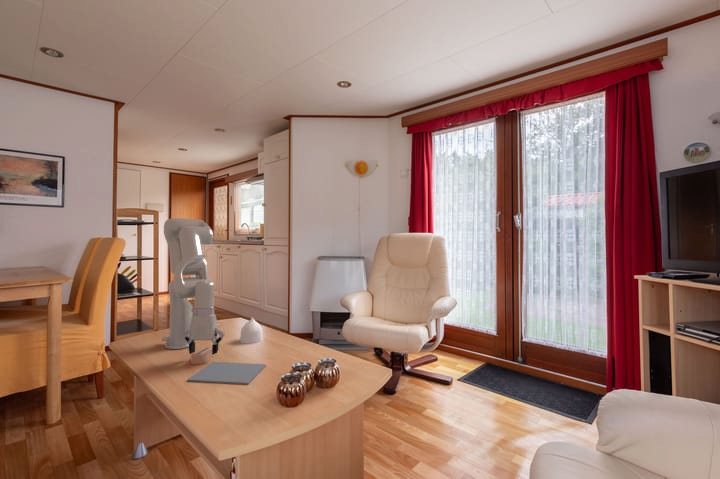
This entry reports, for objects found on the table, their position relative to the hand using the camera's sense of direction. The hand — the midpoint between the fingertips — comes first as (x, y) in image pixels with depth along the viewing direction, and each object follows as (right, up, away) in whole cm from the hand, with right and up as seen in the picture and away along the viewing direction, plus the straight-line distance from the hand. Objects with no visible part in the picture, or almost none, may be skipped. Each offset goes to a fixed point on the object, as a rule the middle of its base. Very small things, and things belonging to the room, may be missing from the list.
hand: (203, 353), depth 139 cm
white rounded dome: (+10, -4, +30) cm, 32 cm away
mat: (+16, -3, -13) cm, 20 cm away
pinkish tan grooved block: (-1, -3, 0) cm, 3 cm away
